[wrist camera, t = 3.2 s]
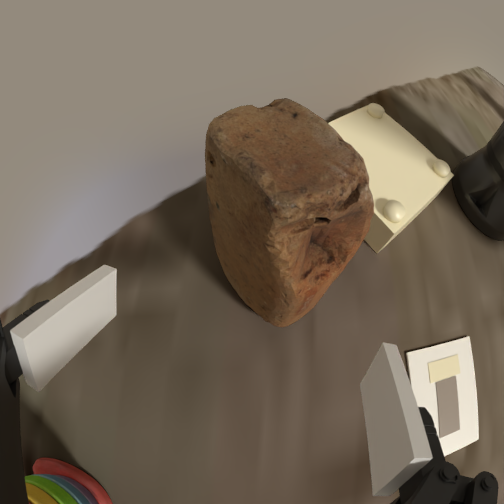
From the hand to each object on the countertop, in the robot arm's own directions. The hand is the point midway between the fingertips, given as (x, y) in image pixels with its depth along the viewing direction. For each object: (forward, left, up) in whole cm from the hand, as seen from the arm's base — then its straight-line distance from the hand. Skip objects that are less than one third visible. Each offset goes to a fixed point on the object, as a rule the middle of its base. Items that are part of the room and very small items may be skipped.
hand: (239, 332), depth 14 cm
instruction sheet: (-25, 0, -17) cm, 30 cm away
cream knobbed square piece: (-11, -27, -17) cm, 33 cm away
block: (-1, -9, -17) cm, 19 cm away
